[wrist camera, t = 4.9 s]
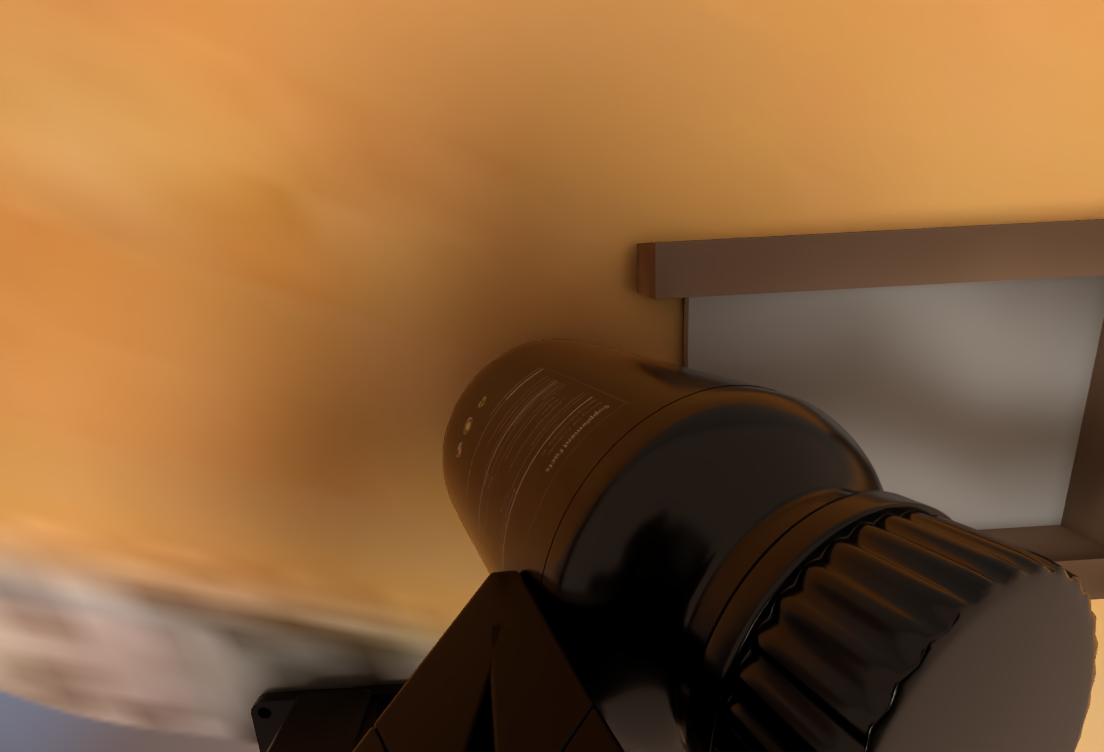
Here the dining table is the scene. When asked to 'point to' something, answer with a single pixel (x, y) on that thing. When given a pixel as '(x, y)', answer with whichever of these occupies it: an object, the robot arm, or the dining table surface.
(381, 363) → the dining table surface
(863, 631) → the supplement bottle
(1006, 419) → the cradle
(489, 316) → the dining table surface
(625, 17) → the dining table surface
